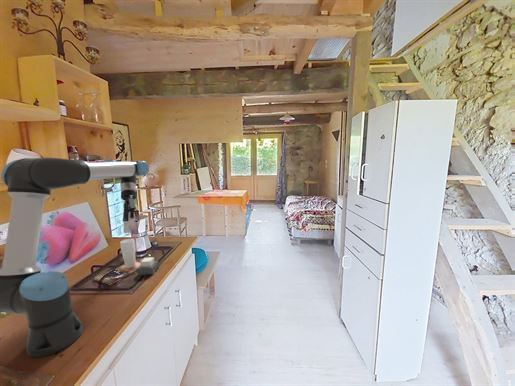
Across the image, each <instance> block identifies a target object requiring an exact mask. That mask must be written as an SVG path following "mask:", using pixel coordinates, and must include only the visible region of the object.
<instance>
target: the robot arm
mask: <svg viewBox="0 0 515 386" xmlns="http://www.w3.org/2000/svg"><path fill="white" fill-rule="evenodd" d="M149 171H150V166H149V163H148V162H147V161H145V160H126V161H124V160H123V161H117V160H115V159H112V158H107V159H106V160H105V161H85V160H83V159H69V158H68V159H67V158H60V157H59V158H58V157H33V158H30V157H29V158H27V157H26V158H24V157H23V158H20V159H15V160H12V161H10V162H8V163H7V164H5V165H4V167H3V169H1V174H0V176H1V180H2V183H4V186H6V187H7V192H6V194H7V195H9V197H11V204H10V205H11V207H10V213H9V221H8V227H7V234H6V238H5V241H6V242H5V247H4V255H3V261H2V267H1V268H0V313H10V314H19V315H25V316H26V320H27V325H28V334H27V339H26V342H25V350H26V354H27V355H28V356H29V357H31V358H41V357H46V356H50V355H53V354H55V353H58V352H60V351H62V350H64V349H66V348H67V347H68V346H70V345H72V344H73V343H74V342H76V341H77V340H78V339H79V338H80V336H81V335H82V333H83V331H84V328H83V323H82V321H81V320H80V319H79V317H78V316H77V315H76V313H75V312H74V309H73V304H72V300H71V299H72V298H71V294H70V293H71V292H70V288H69V282H68V279H67V276H66V275H65V273H63V272H60V271H55V270H53V271H52V270H50V271H49V270H48V271H45V272H44V271H43V272H42V269H41V268H40V267H39V266H38V265H37V260H38V252H39V243H40V238H41V237H40V236H41V229H42V221H43V213H44V205H45V200H46V199H48V198H49V197H51V193H52V190H59V189H64V188H68V187H73V186H79V185H85V184H87V183H88V182H90V181H100V180H109V179H118V180H120V199H121V200H122V201H124V202H123V214H122V223H123V234H130V226H135V225H136V220H135V219H136V214H135V212H136V202H135V200H136V199H137V189H138V187H137V177H138V176H139V177H142V176H147V174H149Z"/></svg>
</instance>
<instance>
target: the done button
mask: <svg viewBox="0 0 515 386" xmlns="http://www.w3.org/2000/svg"><path fill="white" fill-rule="evenodd" d="M154 261H155V257H149V256H148V257H144V258H143V259H142V260H141V261H140V262H141V267H151V266H152V265H153V264H154V263H155V262H154Z"/></svg>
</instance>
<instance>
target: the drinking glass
mask: <svg viewBox="0 0 515 386" xmlns="http://www.w3.org/2000/svg"><path fill="white" fill-rule="evenodd" d="M119 243H120V250H121V254H122V258H123V261H124V262H123V263H124V264H125V267H126V268H133V267H134V266H136V261H137V260H136V245H135V239H133V238H126V239H123V240H121V241H120V242H119Z"/></svg>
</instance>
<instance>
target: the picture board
mask: <svg viewBox="0 0 515 386" xmlns="http://www.w3.org/2000/svg"><path fill="white" fill-rule="evenodd" d="M140 265H141V261H137V260H136V266H134V267H133V268H126V267H125V263H124V264H122V265H120V266H118V267H116V269H115V268H114V269H115V270H118V271H117V272H116V271H114V272H116V273H118V274H120V273H119V272H124V271H125V272H126V274H124V275H123V276H122V277H125V276H128V275H130V274H132V275H134V274H135V272H136V273H138V272H137V268H138V267H139V266H140ZM112 270H113V269H111V270H109V271H107V272H104V273H102V274H100V275H97V276H96V277H93V279H96V280H98V281H99V280H100V279H101V278H102V277H103V276H104V275H105V274H107V273H109V272H110V271H112ZM133 273H134V274H133ZM130 276H131V275H130ZM122 277H119V278H116V279H112V278H105V279H104V280H103V282H104V283H106V284H111V283H113V282H115V281H117V280H119V279H121V278H122ZM128 277H129V276H128ZM96 280H95V281H96ZM98 281H97V282H98ZM106 284H105V285H106ZM111 285H112V284H111Z"/></svg>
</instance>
